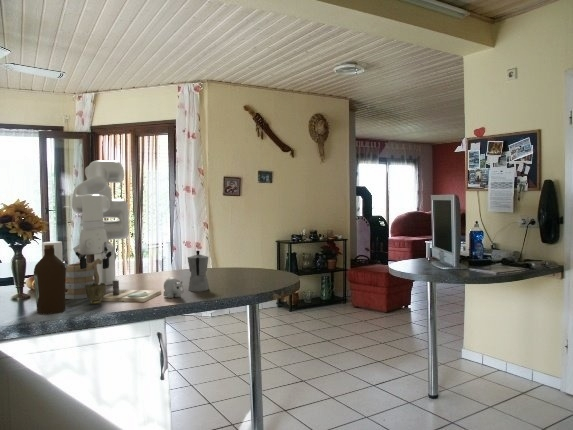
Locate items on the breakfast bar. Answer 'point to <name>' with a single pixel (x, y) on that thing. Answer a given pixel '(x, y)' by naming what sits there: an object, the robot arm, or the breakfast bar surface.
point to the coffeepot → (198, 272)
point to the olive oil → (50, 283)
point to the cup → (95, 292)
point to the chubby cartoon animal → (173, 287)
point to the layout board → (129, 294)
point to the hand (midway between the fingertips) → (94, 268)
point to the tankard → (80, 279)
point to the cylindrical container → (56, 249)
